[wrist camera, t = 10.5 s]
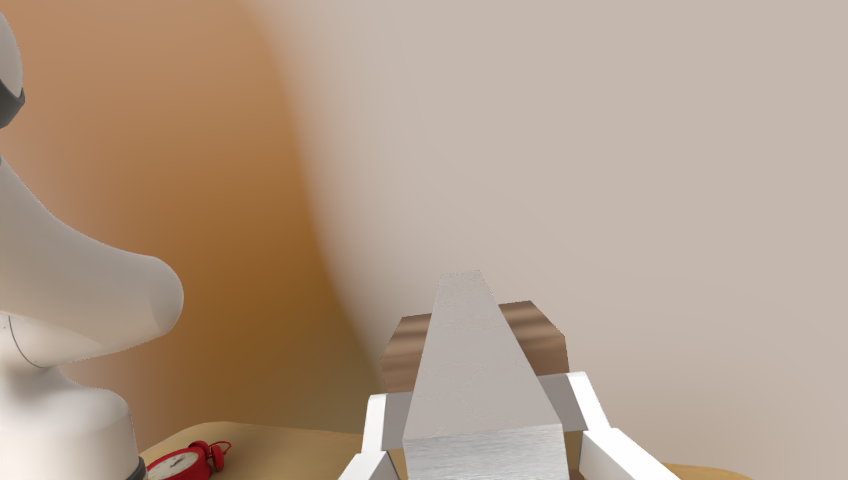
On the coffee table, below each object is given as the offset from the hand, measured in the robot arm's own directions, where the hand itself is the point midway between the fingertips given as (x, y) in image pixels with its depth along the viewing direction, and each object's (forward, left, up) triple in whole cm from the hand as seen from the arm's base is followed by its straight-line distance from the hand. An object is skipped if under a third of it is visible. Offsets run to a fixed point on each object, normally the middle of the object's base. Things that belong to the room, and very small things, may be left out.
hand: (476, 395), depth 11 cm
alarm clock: (-70, +3, -33) cm, 77 cm away
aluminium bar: (-5, +6, -2) cm, 8 cm away
